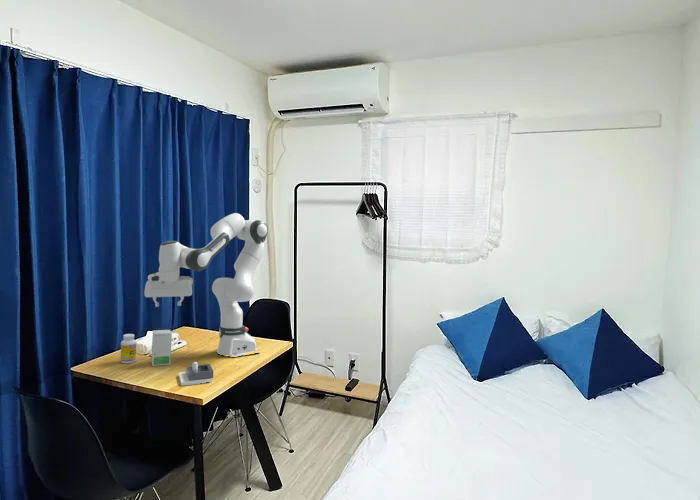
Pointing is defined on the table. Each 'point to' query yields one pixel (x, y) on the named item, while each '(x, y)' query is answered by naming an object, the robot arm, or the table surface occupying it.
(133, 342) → the supplement bottle
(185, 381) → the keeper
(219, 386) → the table surface
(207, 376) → the gray square tray
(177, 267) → the robot arm
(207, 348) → the table surface
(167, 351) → the skincare box
